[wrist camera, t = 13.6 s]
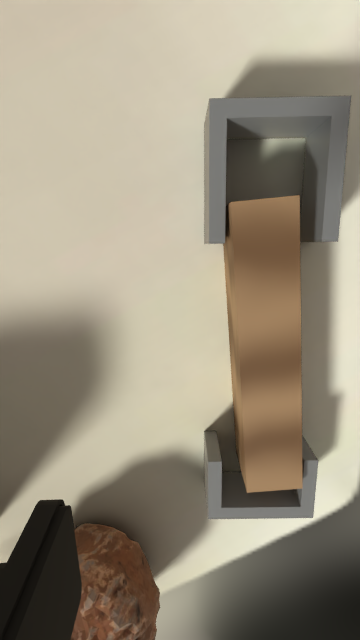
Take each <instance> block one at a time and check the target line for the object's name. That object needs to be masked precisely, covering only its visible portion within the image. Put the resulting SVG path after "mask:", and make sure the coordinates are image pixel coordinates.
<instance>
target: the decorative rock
mask: <svg viewBox="0 0 360 640" xmlns="http://www.w3.org/2000/svg"><path fill="white" fill-rule="evenodd" d="M74 532H75V539H76V546H77V553H78V560H79V568H80V575H81V582H82V593H81V600H80V604H79V608H78V612H77V616H76V620H75V624H74V628H73V632H72V636H71V640H155V636H156V631H157V629H156V624H155V623H156V617H157V613H158V611H159V608H160V604H159V596H160V592H159V589H158V587H157V586H156V584H155V581H154V579H153V576H152V573H151V570H150V567H149V564H148V562H147V559H146V557H145V555H144V553H143V551H142V549H141V547H140V545H139V543H138V542H137V541H132V540H130V539H129V538H128V537H127V536H126V534H125V533H124V532H121V531H119V530H117V529H115V528H114V527H109V526H105V525H101V524H89V523H86V524H82V525H80V526H78V527H77V528H76V529H75V530H74Z"/></svg>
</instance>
